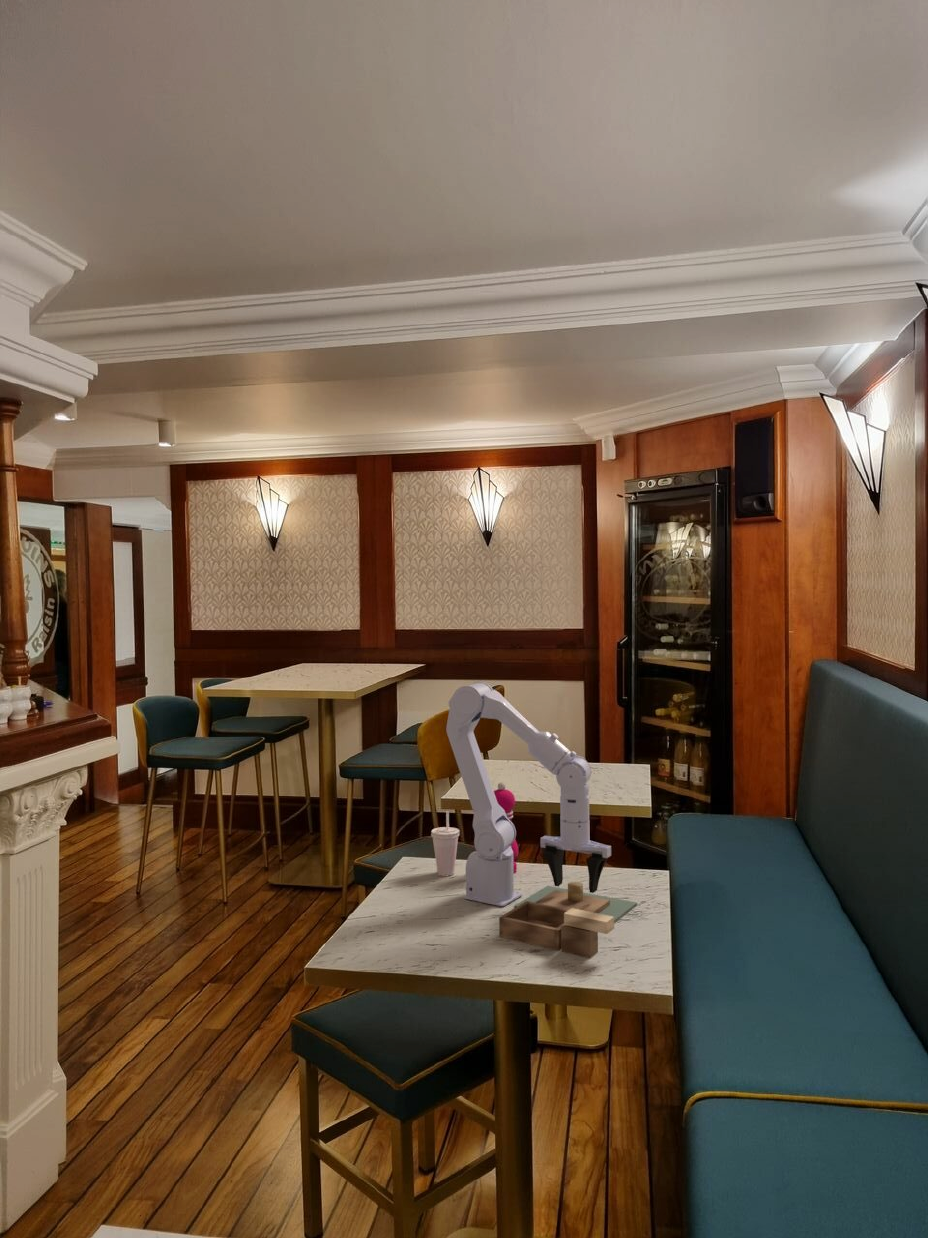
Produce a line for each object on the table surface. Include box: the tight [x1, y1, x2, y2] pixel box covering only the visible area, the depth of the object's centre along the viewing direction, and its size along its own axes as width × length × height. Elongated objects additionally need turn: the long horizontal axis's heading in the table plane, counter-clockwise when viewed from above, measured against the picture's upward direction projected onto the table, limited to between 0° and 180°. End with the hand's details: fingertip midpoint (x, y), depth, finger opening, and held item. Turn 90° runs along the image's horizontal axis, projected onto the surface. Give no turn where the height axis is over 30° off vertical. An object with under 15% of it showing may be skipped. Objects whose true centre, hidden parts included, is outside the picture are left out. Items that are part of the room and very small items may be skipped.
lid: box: [535, 881, 610, 914], centre depth 170 cm, size 12×10×4 cm
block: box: [564, 908, 615, 935], centre depth 149 cm, size 8×3×2 cm, turn 57°
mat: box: [513, 885, 638, 924], centre depth 172 cm, size 20×14×1 cm
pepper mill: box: [493, 782, 519, 873], centre depth 195 cm, size 7×7×20 cm
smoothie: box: [430, 810, 460, 877], centre depth 194 cm, size 6×6×14 cm
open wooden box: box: [498, 901, 599, 959], centre depth 156 cm, size 18×10×4 cm, turn 57°
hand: (575, 888), depth 172 cm, fingers open, 7 cm apart
